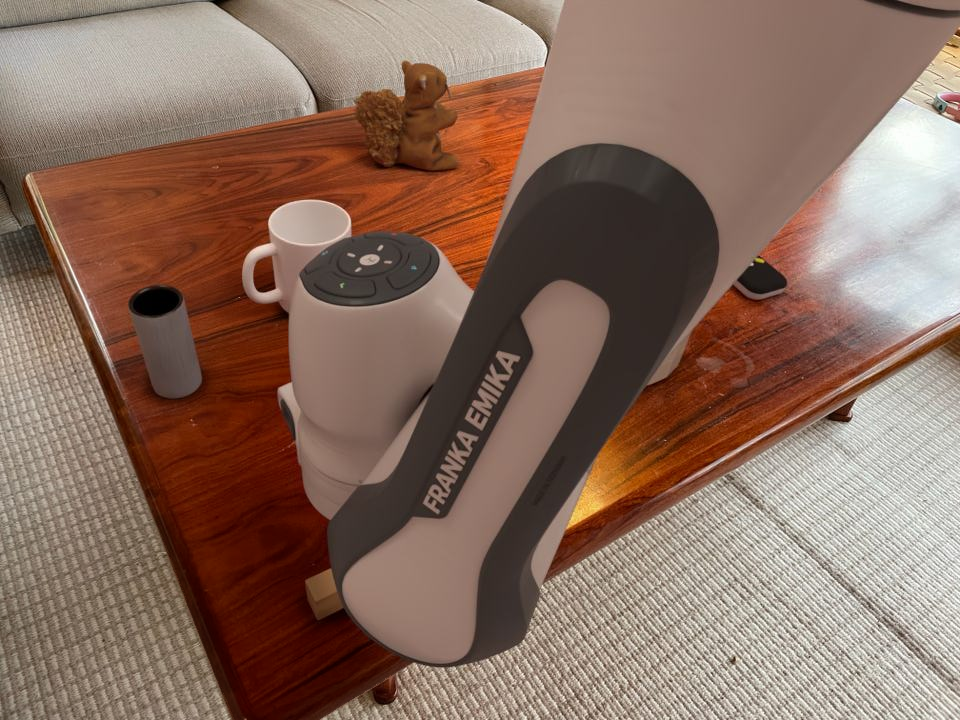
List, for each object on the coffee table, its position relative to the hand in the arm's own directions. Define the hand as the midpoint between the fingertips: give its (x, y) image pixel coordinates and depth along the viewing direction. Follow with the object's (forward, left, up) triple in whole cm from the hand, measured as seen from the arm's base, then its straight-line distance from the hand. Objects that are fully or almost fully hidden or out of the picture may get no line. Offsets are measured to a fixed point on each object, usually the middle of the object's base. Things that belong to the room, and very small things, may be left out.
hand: (371, 568), depth 57 cm
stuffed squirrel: (+58, -34, -2) cm, 67 cm away
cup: (+34, -8, -2) cm, 35 cm away
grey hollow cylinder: (+28, +7, -2) cm, 29 cm away
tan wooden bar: (0, 0, -2) cm, 2 cm away
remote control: (+17, -60, -2) cm, 62 cm away
